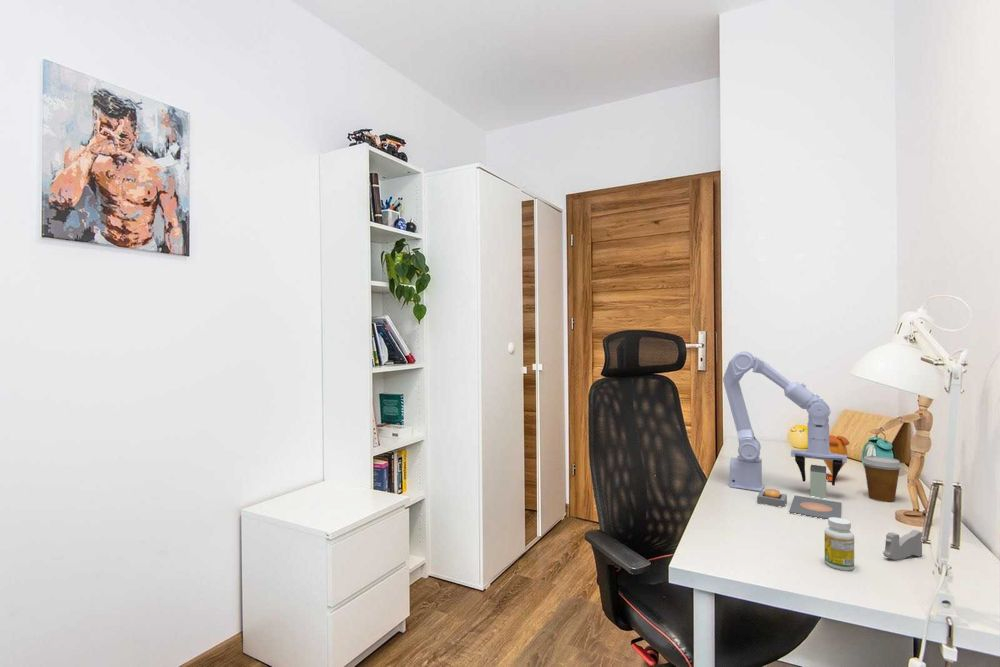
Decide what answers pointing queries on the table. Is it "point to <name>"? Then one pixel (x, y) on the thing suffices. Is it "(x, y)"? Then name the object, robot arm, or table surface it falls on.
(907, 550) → the grey tape dispenser
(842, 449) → the toy figure
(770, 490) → the button
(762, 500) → the button housing
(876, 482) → the disposable coffee cup
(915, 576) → the table surface
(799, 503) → the drawing mat
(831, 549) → the supplement bottle
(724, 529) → the table surface
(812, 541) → the table surface
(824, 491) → the grey and green block
